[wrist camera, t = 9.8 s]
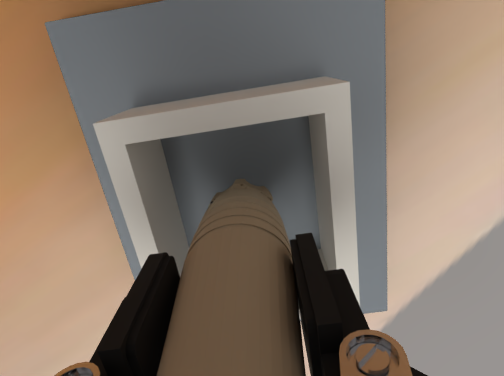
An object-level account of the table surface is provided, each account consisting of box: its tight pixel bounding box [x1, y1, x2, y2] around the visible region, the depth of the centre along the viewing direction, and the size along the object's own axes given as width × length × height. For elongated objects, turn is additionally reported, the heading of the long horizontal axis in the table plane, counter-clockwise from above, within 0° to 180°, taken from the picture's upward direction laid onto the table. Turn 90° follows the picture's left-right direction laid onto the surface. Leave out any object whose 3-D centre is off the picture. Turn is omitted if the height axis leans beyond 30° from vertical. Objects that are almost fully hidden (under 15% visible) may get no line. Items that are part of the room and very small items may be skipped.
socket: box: [45, 0, 387, 321], centre depth 17 cm, size 20×16×6 cm
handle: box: [157, 179, 306, 376], centre depth 10 cm, size 5×6×15 cm
